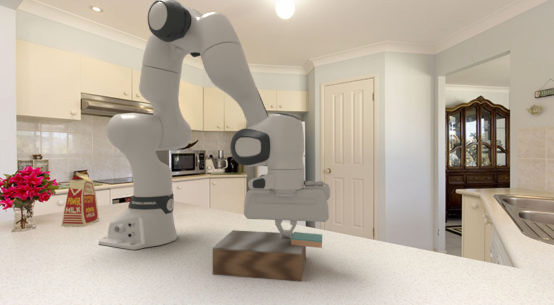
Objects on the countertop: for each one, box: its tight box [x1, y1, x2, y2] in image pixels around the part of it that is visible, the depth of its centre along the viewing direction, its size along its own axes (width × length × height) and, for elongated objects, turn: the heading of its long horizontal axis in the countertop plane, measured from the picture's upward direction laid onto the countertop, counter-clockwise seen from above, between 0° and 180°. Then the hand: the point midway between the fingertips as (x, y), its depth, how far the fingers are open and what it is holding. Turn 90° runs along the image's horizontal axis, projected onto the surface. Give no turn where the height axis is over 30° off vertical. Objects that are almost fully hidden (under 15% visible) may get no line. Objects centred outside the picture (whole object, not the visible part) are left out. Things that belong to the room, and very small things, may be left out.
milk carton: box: [61, 171, 100, 227], centre depth 109 cm, size 9×9×20 cm
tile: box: [291, 231, 323, 249], centre depth 67 cm, size 7×5×2 cm
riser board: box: [212, 229, 307, 282], centre depth 69 cm, size 20×14×6 cm
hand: (286, 238), depth 67 cm, fingers closed
